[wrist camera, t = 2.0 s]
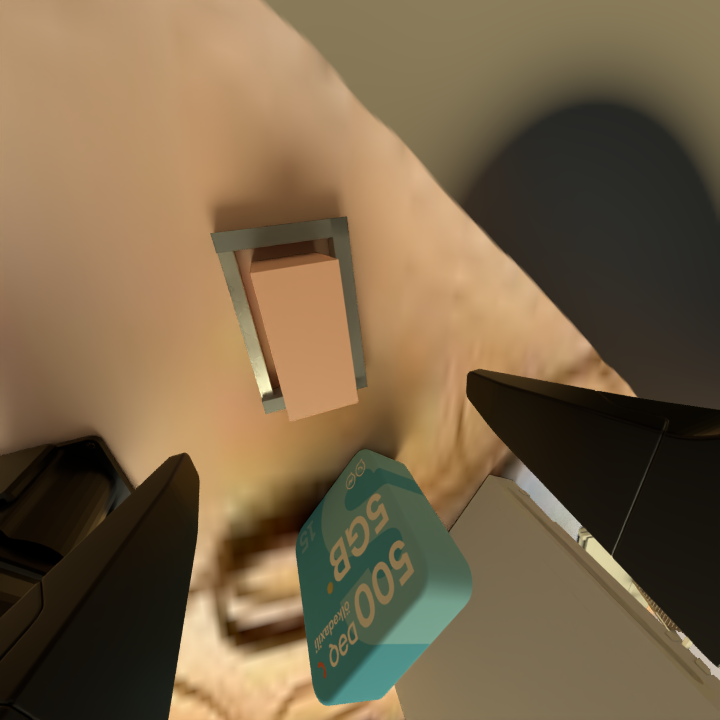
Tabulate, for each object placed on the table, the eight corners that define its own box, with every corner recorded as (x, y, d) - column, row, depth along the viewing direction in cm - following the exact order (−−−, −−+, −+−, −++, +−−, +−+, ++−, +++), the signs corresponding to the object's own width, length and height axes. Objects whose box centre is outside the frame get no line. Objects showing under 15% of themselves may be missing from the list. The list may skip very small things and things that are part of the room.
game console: (519, 480, 36) (759, 706, 19) (410, 628, 42) (519, 905, 25) (488, 472, 34) (735, 726, 17) (377, 631, 40) (473, 942, 22)
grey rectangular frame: (361, 378, 24) (367, 386, 22) (265, 403, 22) (265, 414, 20) (340, 217, 19) (346, 216, 17) (213, 233, 17) (210, 233, 16)
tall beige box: (334, 362, 22) (358, 402, 17) (281, 375, 22) (289, 421, 16) (315, 252, 19) (338, 259, 14) (251, 261, 18) (249, 273, 13)
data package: (364, 440, 26) (436, 579, 16) (399, 455, 28) (485, 586, 18) (292, 537, 28) (315, 720, 18) (331, 545, 30) (372, 712, 20)
